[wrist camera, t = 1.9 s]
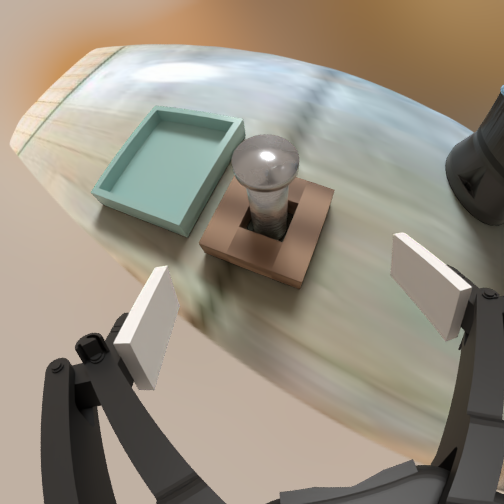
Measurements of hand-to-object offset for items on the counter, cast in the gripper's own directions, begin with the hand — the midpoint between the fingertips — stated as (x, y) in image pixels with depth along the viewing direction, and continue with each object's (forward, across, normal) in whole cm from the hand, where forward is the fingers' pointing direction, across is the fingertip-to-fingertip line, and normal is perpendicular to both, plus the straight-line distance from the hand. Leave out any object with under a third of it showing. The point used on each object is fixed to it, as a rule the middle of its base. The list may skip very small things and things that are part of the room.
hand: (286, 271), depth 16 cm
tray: (+28, -12, +5) cm, 31 cm away
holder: (+19, 0, -4) cm, 20 cm away
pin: (+19, 0, -4) cm, 20 cm away
